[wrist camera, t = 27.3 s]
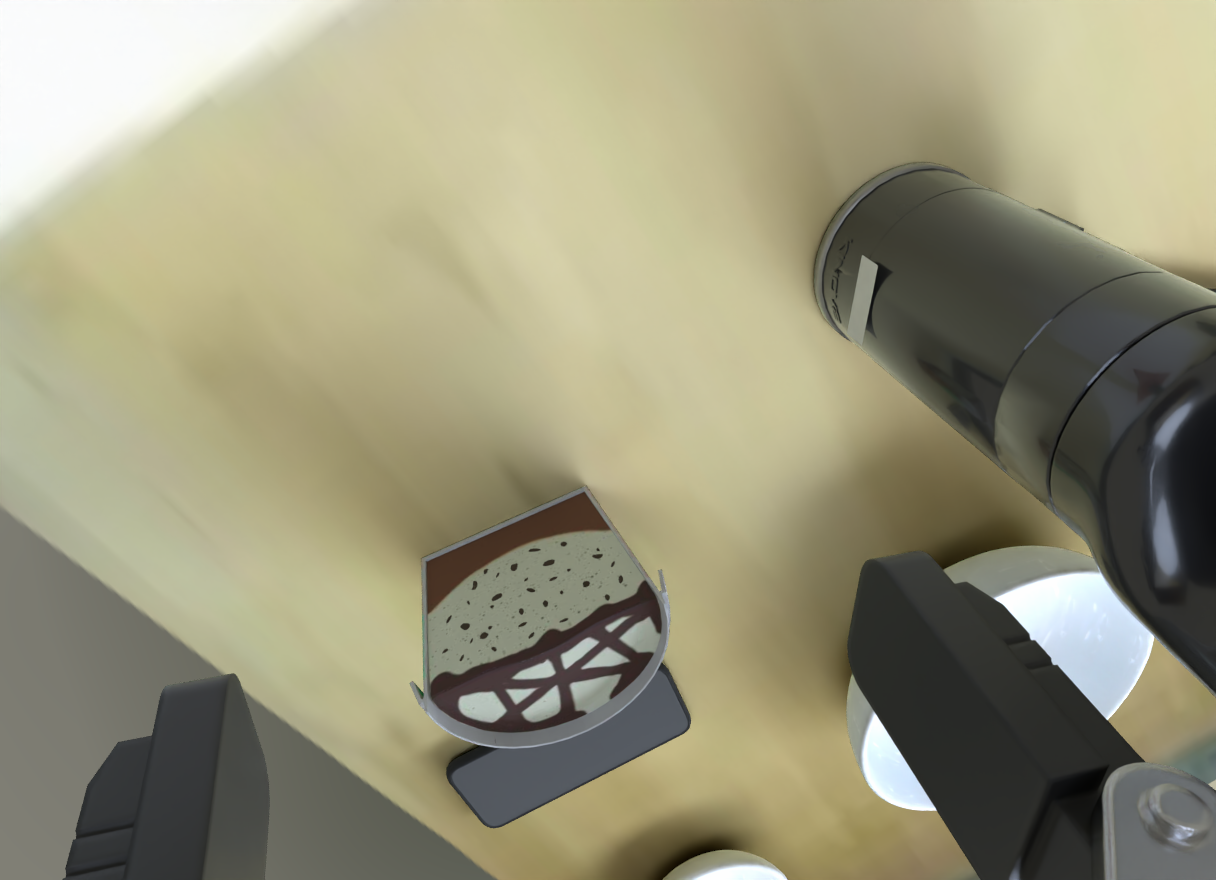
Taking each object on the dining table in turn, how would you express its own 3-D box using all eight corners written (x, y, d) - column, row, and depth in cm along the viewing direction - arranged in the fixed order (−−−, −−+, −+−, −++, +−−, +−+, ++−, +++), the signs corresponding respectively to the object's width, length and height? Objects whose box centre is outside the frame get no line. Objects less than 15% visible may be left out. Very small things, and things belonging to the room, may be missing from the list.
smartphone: (697, 729, 59) (490, 835, 58) (692, 718, 60) (487, 823, 59) (664, 661, 55) (439, 774, 54) (659, 650, 56) (437, 762, 55)
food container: (442, 644, 50) (469, 794, 42) (394, 570, 47) (414, 717, 39) (644, 554, 51) (709, 683, 43) (612, 473, 47) (676, 598, 39)
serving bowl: (804, 766, 66) (850, 849, 61) (818, 548, 55) (877, 625, 49) (1050, 690, 70) (1115, 761, 64) (1112, 471, 59) (1197, 534, 53)
